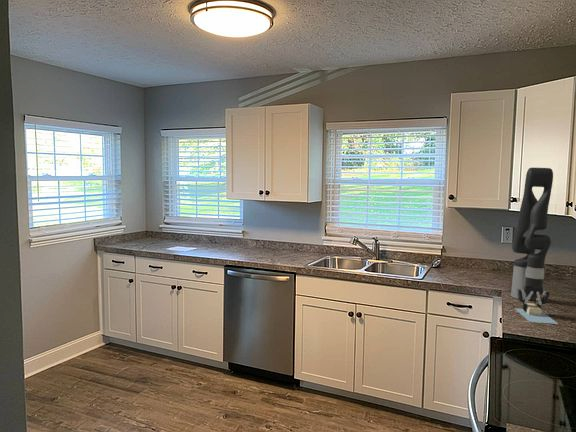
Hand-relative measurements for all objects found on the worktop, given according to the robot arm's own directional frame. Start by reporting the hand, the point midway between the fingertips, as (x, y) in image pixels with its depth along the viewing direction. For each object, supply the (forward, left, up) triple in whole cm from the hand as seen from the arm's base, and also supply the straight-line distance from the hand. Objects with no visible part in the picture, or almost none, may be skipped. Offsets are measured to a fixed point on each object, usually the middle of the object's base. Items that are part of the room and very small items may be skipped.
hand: (531, 311), depth 209 cm
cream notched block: (0, 0, 0) cm, 0 cm away
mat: (+5, 0, -1) cm, 5 cm away
